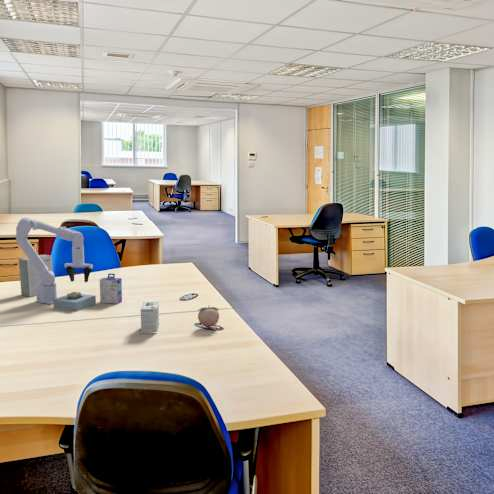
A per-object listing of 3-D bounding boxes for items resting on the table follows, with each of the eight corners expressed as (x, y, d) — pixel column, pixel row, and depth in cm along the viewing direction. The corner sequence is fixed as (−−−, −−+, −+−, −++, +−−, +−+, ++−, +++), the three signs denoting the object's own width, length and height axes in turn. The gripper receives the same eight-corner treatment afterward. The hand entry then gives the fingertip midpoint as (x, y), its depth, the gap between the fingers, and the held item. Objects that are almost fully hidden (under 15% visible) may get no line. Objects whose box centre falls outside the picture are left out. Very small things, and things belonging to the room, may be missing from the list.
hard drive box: (46, 289, 288) (44, 254, 284) (54, 291, 283) (53, 255, 280) (20, 295, 275) (18, 258, 272) (28, 297, 271) (26, 259, 268)
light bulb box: (143, 326, 225) (143, 301, 223) (159, 325, 226) (158, 301, 224) (140, 334, 214) (140, 308, 213) (157, 333, 215) (156, 308, 213)
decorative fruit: (201, 332, 217) (201, 309, 216) (195, 326, 225) (195, 304, 223) (222, 329, 221) (222, 306, 220) (216, 323, 229) (216, 302, 227)
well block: (53, 307, 252) (53, 299, 251) (73, 300, 264) (73, 292, 264) (77, 311, 246) (76, 302, 246) (95, 303, 259) (95, 295, 259)
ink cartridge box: (122, 301, 265) (122, 273, 262) (118, 304, 259) (117, 275, 257) (104, 300, 267) (103, 272, 264) (99, 302, 261) (98, 274, 259)
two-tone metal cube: (67, 306, 254) (67, 294, 252) (74, 304, 258) (74, 291, 257) (74, 307, 252) (73, 294, 251) (81, 305, 257) (80, 292, 255)
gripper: (61, 256, 261) (62, 282, 263) (87, 257, 259) (88, 283, 261) (68, 254, 268) (69, 279, 270) (94, 255, 266) (95, 280, 268)
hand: (79, 281), depth 266 cm, fingers open, 7 cm apart
